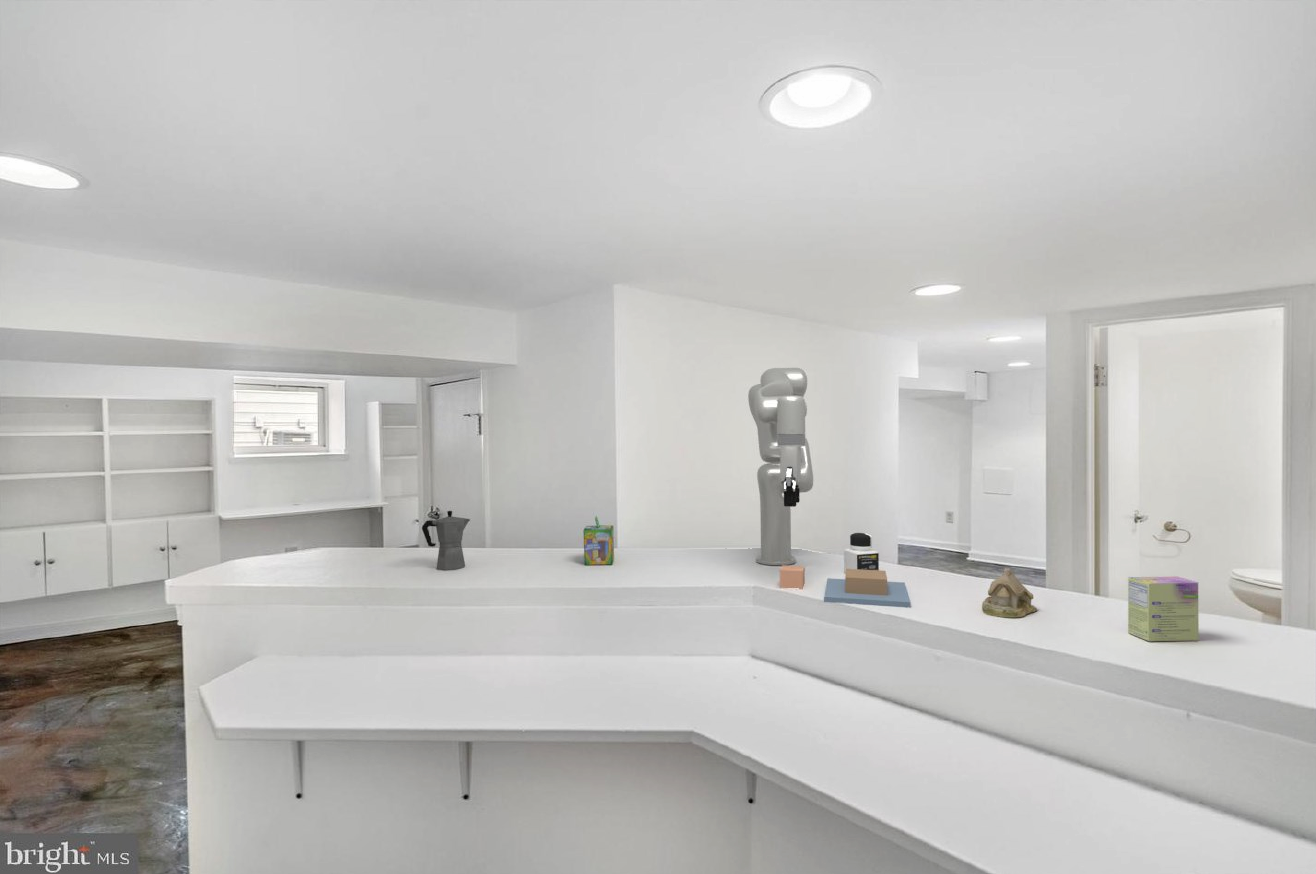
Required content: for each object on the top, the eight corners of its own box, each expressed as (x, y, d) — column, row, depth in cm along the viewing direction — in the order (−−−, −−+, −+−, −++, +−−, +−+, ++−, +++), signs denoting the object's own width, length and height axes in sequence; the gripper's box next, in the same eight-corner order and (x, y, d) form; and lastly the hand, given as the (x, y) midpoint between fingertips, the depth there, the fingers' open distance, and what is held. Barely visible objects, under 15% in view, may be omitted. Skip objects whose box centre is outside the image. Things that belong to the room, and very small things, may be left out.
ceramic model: (987, 600, 161) (987, 560, 160) (1039, 607, 154) (1039, 565, 154) (974, 614, 150) (974, 570, 149) (1030, 622, 143) (1030, 577, 142)
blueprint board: (827, 582, 180) (827, 563, 180) (904, 587, 174) (904, 567, 174) (824, 601, 161) (823, 580, 161) (910, 607, 155) (910, 585, 155)
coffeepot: (464, 562, 214) (463, 507, 213) (476, 566, 207) (475, 510, 206) (417, 569, 204) (416, 512, 204) (428, 574, 197) (427, 515, 196)
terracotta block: (782, 583, 181) (782, 565, 181) (804, 584, 179) (804, 566, 179) (780, 588, 175) (779, 570, 175) (802, 589, 173) (802, 571, 173)
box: (1175, 632, 135) (1175, 575, 134) (1199, 641, 129) (1199, 582, 129) (1126, 633, 134) (1126, 576, 134) (1148, 642, 129) (1148, 583, 128)
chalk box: (612, 565, 206) (611, 518, 206) (583, 565, 206) (582, 519, 206) (615, 559, 215) (614, 514, 215) (587, 559, 215) (586, 515, 215)
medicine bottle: (857, 578, 184) (857, 536, 184) (843, 573, 191) (843, 532, 191) (879, 576, 186) (879, 534, 186) (865, 571, 193) (864, 531, 193)
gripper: (780, 440, 185) (781, 500, 186) (773, 442, 169) (774, 507, 169) (807, 440, 183) (808, 501, 183) (802, 441, 167) (803, 508, 167)
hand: (791, 504), depth 176 cm, fingers open, 9 cm apart
